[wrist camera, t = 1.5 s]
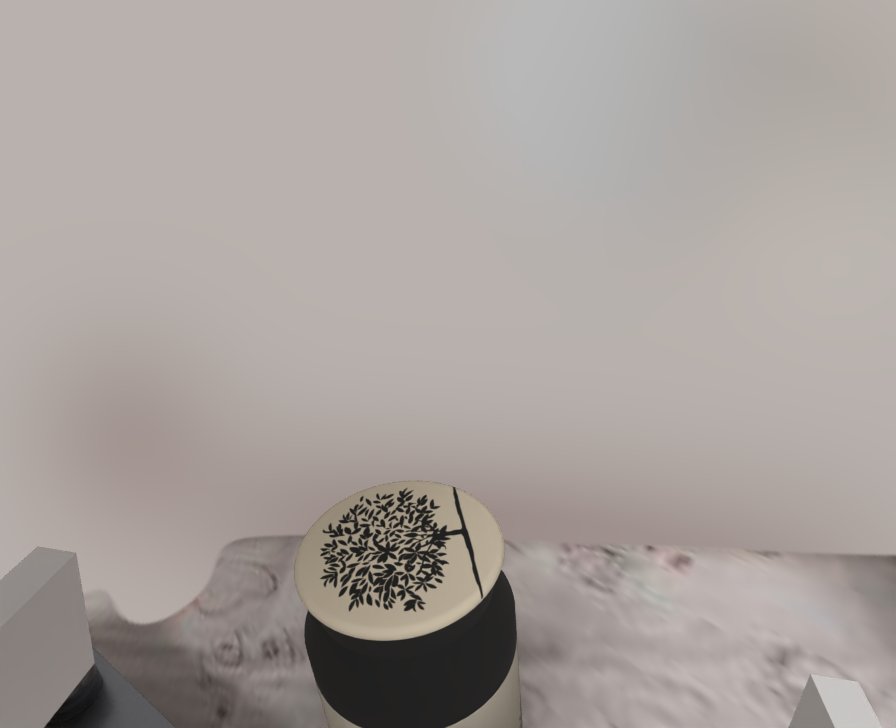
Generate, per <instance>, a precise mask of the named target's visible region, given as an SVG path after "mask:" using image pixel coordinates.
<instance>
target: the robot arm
mask: <svg viewBox="0 0 896 728" xmlns="http://www.w3.org/2000/svg"><path fill="white" fill-rule="evenodd" d="M94 663H95V661H94V655H93V649H92V644H91V638H90V632H89V626H88V620H87V614H86V608H85V603H84V597H83V591H82V585H81V579H80V573H79V568H78V561H77V556H76V553H74V552H68V551H61V550H55V549H49V548H43V547H37V548H35V549H34V550H33V551H32V552H31V553H30V554H29V555H28V556H27V557H26V558H24V559H23V560H22V561H21V562H20V563H19V564H18V565H17V566H15V567H14V568H13V569H12V570H11V571H10V572H9V573H8V574H7V575H5V576H4V577H3V578H2V579H1V580H0V728H44V727H45V726H46V724H47V723H48V722H49V721H50V719H51V718H52V717H53V715H54V714H55V713H56V712H57V710H58V709H59V708H60V707H61V705H62V704H63V703H64V701H65V700H66V699H67V698H68V696H69V695H70V694H71V693H72V691H73V690H74V689H75V687H76V686H77V685H78V684H79V682H80V681H81V680H82V678H83V677H84V676H85V675H86V673H87V672H88V671H89V670H90V668H91V667H92V666H93V664H94ZM789 728H882V726H881V724H880V722H879V720H878V718H877V717H876V715H875V713H874V711H873V709H872V707H871V705H870V703H869V701H868V700H867V698H866V696H865V694H864V692H863V690H862V688H861V686H860V684H859V683H858V682H855V681H849V680H843V679H837V678H831V677H825V676H818V675H812V674H810V677H809V679H808V682H807V684H806V686H805V689H804V691H803V694H802V696H801V699H800V701H799V704H798V706H797V709H796V711H795V713H794V716H793V718H792V721H791V723H790V726H789Z"/></svg>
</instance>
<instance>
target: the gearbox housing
mask: <svg viewBox="0 0 896 728" xmlns="http://www.w3.org/2000/svg"><path fill="white" fill-rule="evenodd" d="M92 649H93V655H94V661H95V663H94V664H93V666H92V667H91V668H90V670H89V671H88V672H87V673H86V675H85V676H84V677H83V678H82V680H81V681H80V682H79V684H78V685H77V686H76V687H75V689H74V690H73V691H72V693H71V694H70V695H69V696H68V698H67V699H66V700H65V701H64V703H63V704H62V705H61V707H60V708H59V709H58V710H57V712H56V713H55V714H54V715H53V717H52V718H51V719H50V721H49V722H48V723H47V724H46V726H45V727H44V728H175V727H174V726H173V725H172V724H171V723H170V722H169V721H168V720H167V719H166V718H165V717H164V716H163V715H162V714H161V713H160V712H159V711H158V710H157V709H156V708H155V707H154V706H153V705H152V704H151V703H150V702H149V701H148V700H147V699H146V698H144V697H143V696H142V695H141V694H140V693H139V692H138V691H137V690H136V689H135V688H134V687H133V686H132V685H131V684H130V683H129V682H128V681H127V680H126V679H125V678H124V677H123V676H122V675H121V674H120V673H119V672H118V671H117V670H116V669H115V668H114V667H113V666H112V665H111V664H110V663H109V662H108V661H107V660H105V659H104V658H103V657H102V656H101V655H100V654H99V653H98V652H97V651H96V650H95V649H94V648H93V647H92Z"/></svg>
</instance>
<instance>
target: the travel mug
mask: <svg viewBox="0 0 896 728" xmlns="http://www.w3.org/2000/svg"><path fill="white" fill-rule="evenodd" d="M503 560H504V538H503V534H502V531H501V528H500V526H499V523H498V522H497V520H496V518H495V516H494V515H493V514H492V512H491V511H490V510H489V509H488V508H487V507H486V506H485V505H484V504H483V503H482V502H480V501H479V500H478V499H477V498H475V497H474V496H472V495H470V494H468V493H466V492H465V491H463V490H460V489H458V488H455V487H452V486H449V485H445V484H441V483H435V482H428V481H403V482H395V483H388V484H383V485H379V486H375V487H372V488H369V489H366V490H363V491H361V492H359V493H356V494H354V495H352V496H350V497H348V498H347V499H344V500H343V501H341V502H339V503H338V504H336V505H335V506H333V507H332V508H331V509H329V510H328V511H327V512H326V513H324V514H323V515H322V516H321V517H320V518H319V519H318V520H317V521H316V522H315V523H314V525H313V526H312V527H311V528H310V529H309V531H308V532H307V534H306V535H305V537H304V539H303V541H302V543H301V544H300V547H299V550H298V552H297V556H296V560H295V567H294V577H295V584H296V588H297V591H298V594H299V596H300V598H301V600H302V602H303V603H304V605H305V607H306V608H307V609H308V613H307V616H306V622H305V644H306V649H307V653H308V656H309V660H310V663H311V667H312V670H313V674H314V677H315V680H316V684H317V687H318V691H319V694H320V698H321V701H322V705H323V708H324V712H325V715H326V718H327V722H328V725H329V728H522V712H521V696H520V680H519V664H518V648H517V632H516V616H515V601H514V596H513V592H512V589H511V586H510V584H509V582H508V579H507V578H506V576H505V574H504V573H503V571H502V570H501V568H502V564H503Z"/></svg>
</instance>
